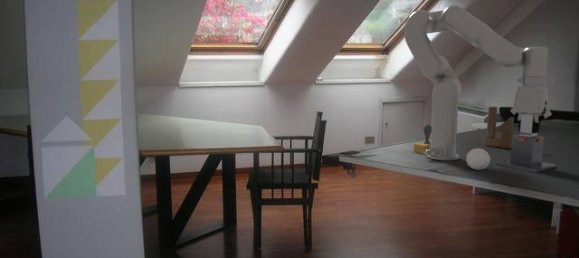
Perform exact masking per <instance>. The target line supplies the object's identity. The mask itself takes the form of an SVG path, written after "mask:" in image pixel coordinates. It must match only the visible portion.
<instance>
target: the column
mask: <svg viewBox="0 0 579 258" xmlns="http://www.w3.org/2000/svg"><path fill="white" fill-rule="evenodd" d="M533 122H535V119H534V114H528V113H526V114H522V116H521V128H520V132H519V135H520V137H526V138H537V136H538V133H532V130H533Z"/></svg>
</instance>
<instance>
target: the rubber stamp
mask: <svg viewBox="0 0 579 258" xmlns="http://www.w3.org/2000/svg"><path fill="white" fill-rule="evenodd" d="M431 129H432V125H430V124H425V125H424V126H423V134H424V137H425V139H424V141H423V142H422V141H421V142H418V143H417V142H416V143H414V144H413V153H417V154H421V155H424V153H423V151H424V150H429V147H430V146H431V141H430V139H429V138H430V137H431Z"/></svg>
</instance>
